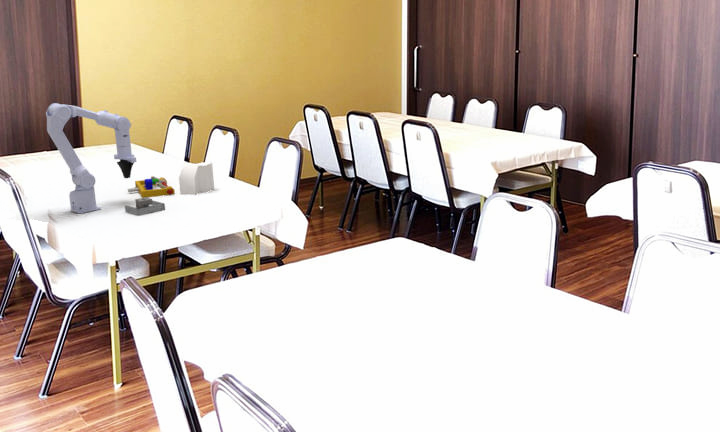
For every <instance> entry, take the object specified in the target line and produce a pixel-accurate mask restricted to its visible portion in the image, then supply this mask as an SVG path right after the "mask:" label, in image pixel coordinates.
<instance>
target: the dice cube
mask: <svg viewBox="0 0 720 432" xmlns="http://www.w3.org/2000/svg"><path fill="white" fill-rule="evenodd" d="M152 200H153V198H151V197H145V198H142V197H141V198H135V199H134V201H135V208H138V209H139V208H144V207H148V206H147V205H148V204H153V202H152Z"/></svg>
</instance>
